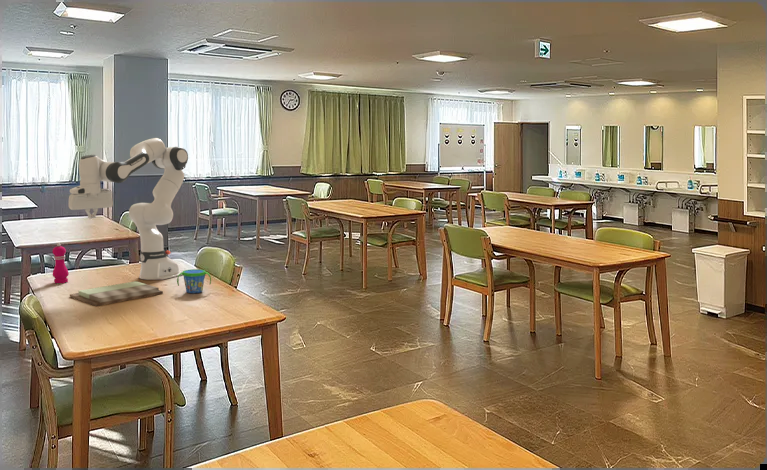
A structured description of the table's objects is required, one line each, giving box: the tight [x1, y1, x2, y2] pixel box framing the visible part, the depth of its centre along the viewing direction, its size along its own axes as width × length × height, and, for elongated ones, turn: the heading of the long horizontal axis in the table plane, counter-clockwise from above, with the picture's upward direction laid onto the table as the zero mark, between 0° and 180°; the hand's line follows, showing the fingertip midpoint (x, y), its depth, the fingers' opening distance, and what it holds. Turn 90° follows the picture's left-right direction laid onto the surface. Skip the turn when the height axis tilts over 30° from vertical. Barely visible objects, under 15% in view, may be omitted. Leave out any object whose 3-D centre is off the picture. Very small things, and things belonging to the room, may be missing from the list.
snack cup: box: [176, 268, 212, 294], centre depth 310 cm, size 16×10×10 cm
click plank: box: [77, 280, 148, 298], centre depth 305 cm, size 28×10×2 cm, turn 140°
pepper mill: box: [52, 242, 69, 284], centre depth 328 cm, size 7×7×20 cm
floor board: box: [69, 284, 164, 307], centre depth 303 cm, size 32×25×3 cm
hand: (92, 218), depth 313 cm, fingers closed
